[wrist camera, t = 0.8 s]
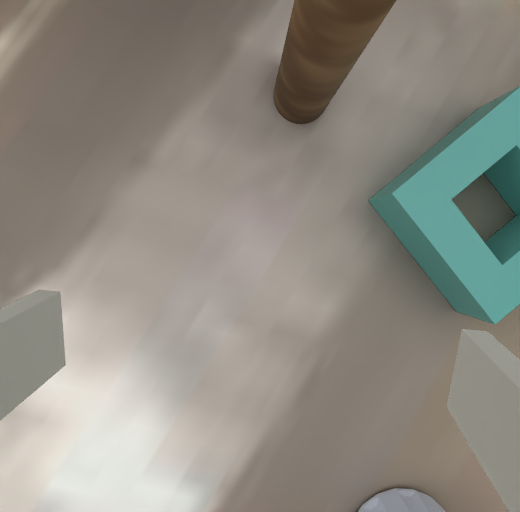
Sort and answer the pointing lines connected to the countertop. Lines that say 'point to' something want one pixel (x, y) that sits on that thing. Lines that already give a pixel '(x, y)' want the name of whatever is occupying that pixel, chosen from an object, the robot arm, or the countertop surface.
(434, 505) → the soap bottle
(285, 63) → the dowel
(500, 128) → the socket
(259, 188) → the countertop surface
